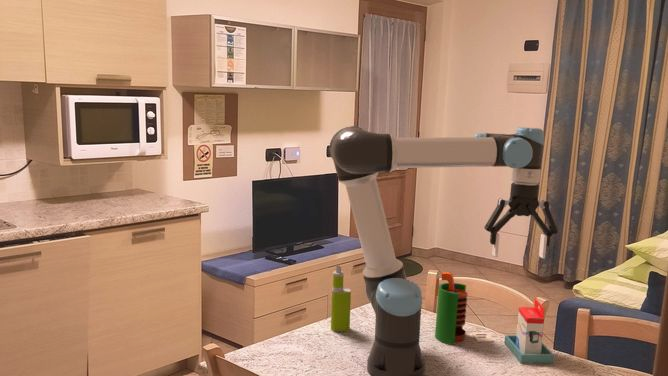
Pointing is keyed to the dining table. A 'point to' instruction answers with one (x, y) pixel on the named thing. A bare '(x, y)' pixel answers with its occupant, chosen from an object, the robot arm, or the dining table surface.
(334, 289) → the vape
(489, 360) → the dining table surface
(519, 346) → the ink box
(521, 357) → the tray
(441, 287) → the motor
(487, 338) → the label card
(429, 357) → the dining table surface
